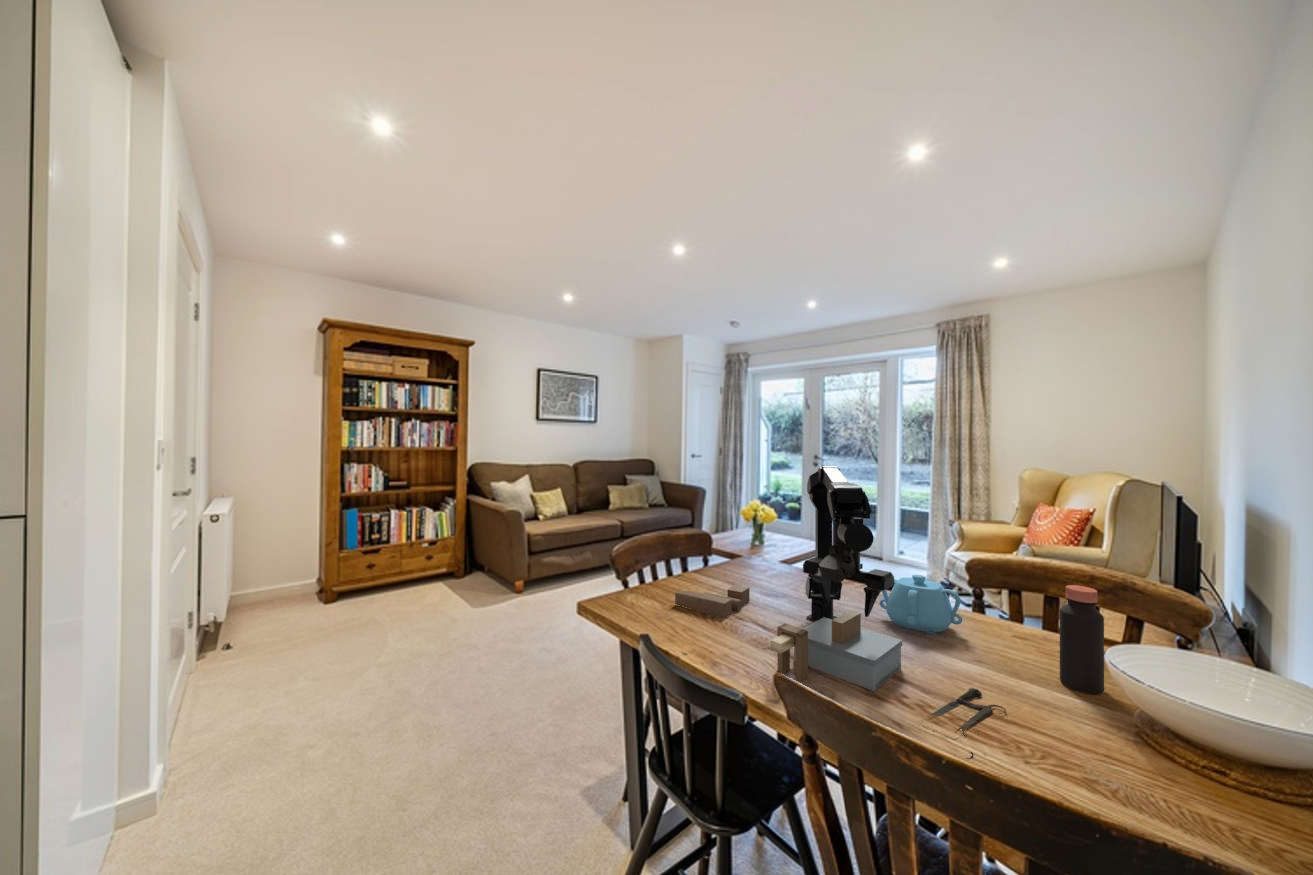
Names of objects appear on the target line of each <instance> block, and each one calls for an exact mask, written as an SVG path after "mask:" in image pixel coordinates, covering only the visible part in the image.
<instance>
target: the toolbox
mask: <svg viewBox="0 0 1313 875" xmlns="http://www.w3.org/2000/svg"><path fill="white" fill-rule="evenodd" d="M776 629H777V632H776V633H777V636H776V637H778V636H780V635H782V634H784V633H787V634H790V635H793V636H795V646H794V647H793V661H795V679H797V680H798V681H802V680H804V679H805V678H806V677H807V678H808V676H809V668H812V669H814V670H818V671H819V672H820V671H821V672H823V673H826V674H827V675H828V674H829V675H831V676H833V677H836V678H839V679H841V680H844V681H847V682H849V683H851V684H855V685H857V686H859V687H862V688H865V689H867V690H870V691H873V692H875V691H876V690H877V689H878V688H879V687H880V686H882V685H883V684H884V683H886V682H887V681H888V680H889V679H891V677H893V676H894V675H895V674H896V673H897V672H899V670H902V646H901V647H900V648H899V649H897V650H896V651H895V652H893V653H892V654H891V655H889V656H888V657H887V658H885V659H884V660H883V661H882V662H880V663H879V664H878V665H876V666H875V667H873V666H870V665H868V664H865V663H862V662H859V661H856V660H853V659H850V658H847V657H844V656H842V655H839V654H836V653H833V652H830V651H827V650H824V649H821V648H819V647H816V646H813V645H810V644H808V631H807V630H804V629H802V628H800V627H798V626H796V625H791V624H788V623H782V624H781V625H779V626H777V628H776ZM776 653H777V672H779V671H780V672H779V673H781V672H782V674H783V673H784V672H786V671H788V670H790V669H791V648H790V649H788V650H787V651H785V652H783V653H781V654H780V653H778V652H776Z"/></svg>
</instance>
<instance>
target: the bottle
mask: <svg viewBox="0 0 1313 875" xmlns="http://www.w3.org/2000/svg"><path fill="white" fill-rule="evenodd" d="M1098 598H1099V597H1098V590H1096V589H1095V588H1093V587H1089V586H1088V587H1087V586H1083V585H1079V584H1078V585H1076V584H1069V585H1068V584H1067V585H1066V586H1065V600H1066V601H1067V603H1066V604H1064V605H1063V606H1061V608H1060V609H1059V680H1060V683H1061V684H1063V686H1065V687H1067V688H1069V689H1072V690H1073V691H1076V692H1080V693H1082V694H1083V693H1084V694H1087V695H1101V694H1103V693H1104V691H1105V618H1104V617H1105V616H1103V614H1101V612H1100V611H1099V610H1097V608H1096V606H1097V605H1098Z"/></svg>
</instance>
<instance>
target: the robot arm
mask: <svg viewBox="0 0 1313 875" xmlns="http://www.w3.org/2000/svg"><path fill="white" fill-rule="evenodd" d="M806 492H807V495H809V500H810V502H811V504H812V505H813V507H814V509H815V510H814V511H815V512H814V514H815V516H814V517H815V519H814V520H815V524H814V526H815V531H814V532H815V537H814V538H815V539H814V540H815V543H814V544H815V547H814V550H815V555H814V556H815V557H811V558H809V559H806V560H805V561H804V562H803V564H802V573H803V574H804V573H805V574H808V575H807V578H806V582H805V587H804V588H805V595H806V596H807V599H808V600H810V599H811V604H810V605H811V608H810V610H811V612H810V614H809V615H807V616H806V619H808V620H811V621H814V622H816V621H818V620H820V619H822V618H824V617H825V618H828V619H832V620H833V619H835V618H837V617H838V616H837V615H834V600H835V601H836V600H837V601H840V600H841V598H842V596H841V595H842V588H843V583H842V582H843V581H844V580H845V578H850V579H851V578H852V579H855V580H858V581H859V580H860V581H864V584H865V585H866V586H865V587H864V588H863V592H864V594H865V595H864V596H865V598H864V617H866V618H868V617H870V614H871V612H872V610H873V608H874V605H875V603H876V602H877V599H878V597H879V595H880V594H881V593H882V591H883V590H886V591H887V590H888V589H889V588H893V587H894V585H895V584H894V580H895V576H894V574H893V573H892V572H891V571H887V570H882V569H881V570H880V569H877V568H874V569H872V570H870V571H864V570H862V569H863V567H864V566H863V563H862V562H861V552H865V551H867V550H868V549H870V548H871V547H872V545H873V542H874V535H873V532H872V530H871V529H870V528H869V526H867V525H865V524H864V520H866V519H867V520H868V519H869V520H870V519H871V513H872V507H871V505H870V501H869V499H868V495H866V491H865V490H863V488H862V486H861V485H859V484H857V483H854V482H853V483H852V482H849V481H848V480H847V479H846V477H845V476H844V475H843V474H842V473H841V468H840V466H837V465H835V466H834V465H821V466H819V467H818V470H817V471H815V472H814V473H812V474H810V475H809V477H808V480H807V484H806Z"/></svg>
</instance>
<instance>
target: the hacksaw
mask: <svg viewBox="0 0 1313 875" xmlns="http://www.w3.org/2000/svg"><path fill="white" fill-rule="evenodd" d="M981 697H982V692H981V691H980V690H979V689H977V688H974V687H973V688H968V691H967V692H964V694H962V695H960V696H958V697H957V698H956V699H955V701H953V700H951V701H950V702H948V703H946V704H945V705H943V706H942V707H940V708H939V709H936V711H933V712H932V713H931V714H930V716H933V717H934V716H935V717H941V716H942V715H944V714H946V713H947V712H950V711H951V710H953V709H955V708H956V707H957V706H959V705H960V704H962V705H965V706H967V707H968V708H969V707H970V708H974V709H977V710H979V711H978V712H977V713H976V714H974V715H973V716H972V717H971V718H970V719H968V720H967V721H966V722H965V723H964V724H962V725H961V726H960V727H959V728H958V729H957V730H956V731H955V733H956V732H957V731H959V730H960V729H962V731H963V732H964V731H965V730H966V729H968V728H970V727H971V728H973V727H974V726H976V725H977V724H978V723H979V721H980V722H982V720H984V719H985V718H986V717H987V716H989V715H990V714H992V713H993V712H994V710H993V708H994V707H995V708H996V707H997V708H1000V709H1003V711H1004V712H996V714H999V715H1001V714H1005V713H1006V712H1007V710H1006V708H1004V707H1003V706H1001V705H998V704H988V705H985V704H977V703H973V702H971V701H969V700H972V699H975V698H977V699H978V698H981ZM973 725H974V726H973ZM917 726H919V727H920V724H918V725H917ZM922 727H923V728H925V729H926V730H929V728H928V727H925V726H924V725H923V726H922ZM971 728H970V729H971ZM935 731H936V730H933V731H932V732H933V733H935ZM963 735H964V734H963ZM965 735H966V734H965ZM965 735H964V736H965ZM971 754H972V756H971ZM973 755H974V753H973V752H972V751H971V753H970V758H969V757H966V759H965V760H971V759H974V757H973ZM974 756H975V755H974ZM954 757H956V755H954Z"/></svg>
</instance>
